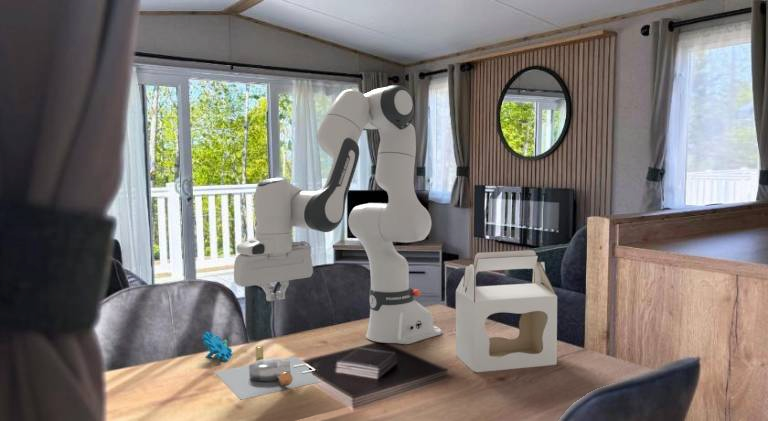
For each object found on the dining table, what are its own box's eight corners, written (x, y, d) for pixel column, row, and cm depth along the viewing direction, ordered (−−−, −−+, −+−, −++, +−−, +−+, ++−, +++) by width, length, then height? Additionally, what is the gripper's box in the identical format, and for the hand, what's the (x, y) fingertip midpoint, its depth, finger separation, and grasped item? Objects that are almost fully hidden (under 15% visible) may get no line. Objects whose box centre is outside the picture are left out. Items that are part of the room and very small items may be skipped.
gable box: (473, 373, 140) (473, 257, 138) (454, 356, 153) (454, 249, 151) (557, 365, 145) (559, 253, 143) (532, 349, 158) (533, 246, 156)
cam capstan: (275, 361, 147) (275, 343, 146) (307, 384, 130) (306, 364, 130) (238, 368, 142) (238, 349, 141) (266, 393, 125) (265, 372, 125)
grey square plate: (295, 360, 151) (295, 355, 151) (330, 383, 134) (330, 378, 134) (214, 376, 140) (214, 371, 140) (240, 404, 123) (240, 398, 123)
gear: (226, 361, 145) (199, 332, 147) (210, 378, 146) (183, 349, 147) (242, 353, 156) (217, 326, 158) (226, 369, 157) (201, 342, 158)
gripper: (304, 239, 153) (305, 291, 154) (230, 246, 140) (231, 303, 141) (317, 241, 148) (318, 295, 149) (241, 249, 135) (243, 308, 136)
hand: (275, 299), depth 145 cm, fingers closed
